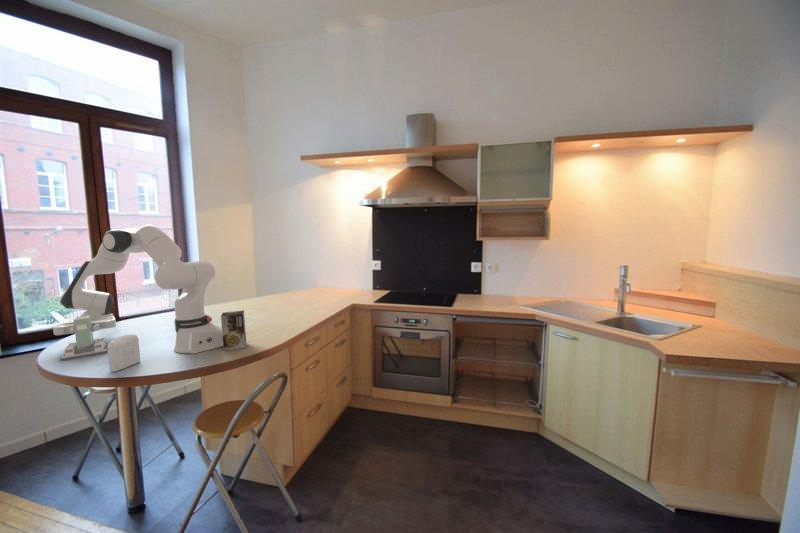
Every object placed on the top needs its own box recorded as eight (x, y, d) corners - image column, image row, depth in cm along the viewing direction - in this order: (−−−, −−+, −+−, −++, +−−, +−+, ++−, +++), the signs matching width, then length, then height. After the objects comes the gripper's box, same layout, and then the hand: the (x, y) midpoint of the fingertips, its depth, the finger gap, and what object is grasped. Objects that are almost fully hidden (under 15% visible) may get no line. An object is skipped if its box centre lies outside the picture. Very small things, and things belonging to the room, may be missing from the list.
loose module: (93, 341, 144) (90, 315, 143) (91, 345, 140) (88, 318, 138) (79, 343, 142) (76, 316, 140) (76, 347, 137) (73, 320, 135)
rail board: (109, 345, 150) (108, 336, 149) (106, 352, 141) (105, 343, 140) (67, 352, 141) (65, 343, 141) (61, 360, 133) (59, 350, 132)
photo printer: (133, 360, 132) (130, 331, 131) (142, 361, 132) (139, 332, 130) (107, 371, 122) (103, 340, 121) (116, 372, 121) (113, 341, 120)
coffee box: (246, 343, 151) (244, 310, 150) (245, 348, 146) (243, 313, 144) (225, 346, 148) (222, 312, 146) (223, 351, 142) (220, 315, 140)
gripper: (56, 320, 144) (47, 327, 133) (116, 312, 156) (113, 319, 145) (58, 333, 144) (49, 342, 133) (118, 325, 157) (115, 332, 146)
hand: (83, 330), depth 139 cm, fingers closed on loose module, 4 cm apart
